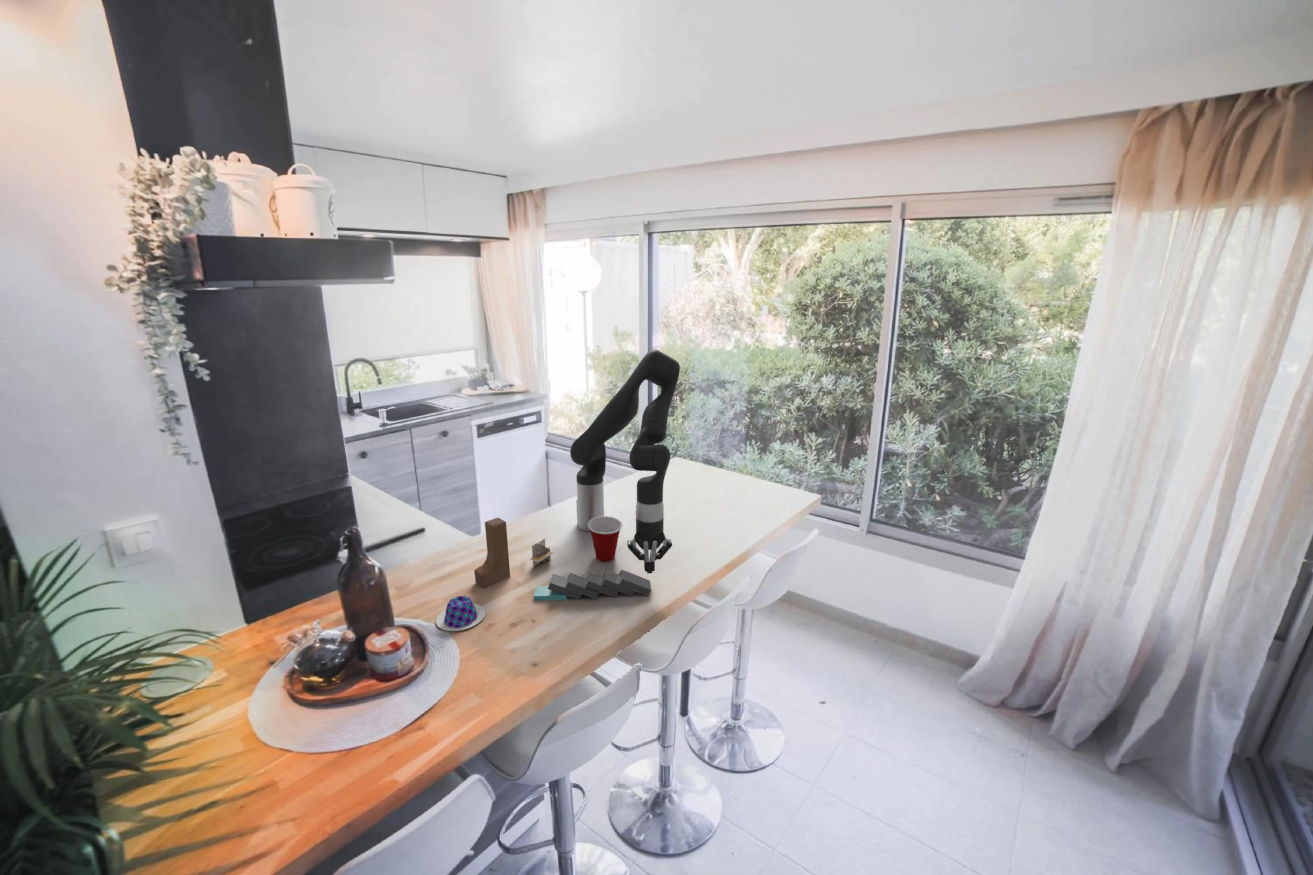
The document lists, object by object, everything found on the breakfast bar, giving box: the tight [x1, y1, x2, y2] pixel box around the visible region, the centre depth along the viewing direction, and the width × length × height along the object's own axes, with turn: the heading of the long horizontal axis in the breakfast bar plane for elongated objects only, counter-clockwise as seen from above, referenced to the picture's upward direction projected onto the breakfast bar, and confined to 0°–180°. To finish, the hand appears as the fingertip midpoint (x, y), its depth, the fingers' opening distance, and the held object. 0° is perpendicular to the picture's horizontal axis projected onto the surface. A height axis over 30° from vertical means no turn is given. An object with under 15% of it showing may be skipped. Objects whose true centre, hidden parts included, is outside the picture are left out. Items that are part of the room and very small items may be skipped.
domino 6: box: [618, 569, 652, 597], centre depth 150 cm, size 2×5×9 cm
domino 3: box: [565, 572, 600, 600], centre depth 148 cm, size 2×5×9 cm
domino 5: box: [601, 569, 635, 597], centre depth 150 cm, size 2×5×9 cm
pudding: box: [435, 595, 486, 632], centre depth 138 cm, size 12×12×5 cm
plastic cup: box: [588, 515, 623, 563], centre depth 167 cm, size 11×11×12 cm
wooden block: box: [473, 517, 511, 589], centre depth 153 cm, size 9×4×18 cm, turn 136°
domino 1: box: [532, 585, 569, 601], centre depth 149 cm, size 2×5×9 cm
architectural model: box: [529, 538, 554, 567], centre depth 164 cm, size 3×7×7 cm, turn 148°
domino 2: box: [548, 573, 582, 600], centre depth 149 cm, size 2×5×9 cm
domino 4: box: [585, 571, 620, 598], centre depth 149 cm, size 2×5×9 cm
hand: (649, 571), depth 150 cm, fingers closed
